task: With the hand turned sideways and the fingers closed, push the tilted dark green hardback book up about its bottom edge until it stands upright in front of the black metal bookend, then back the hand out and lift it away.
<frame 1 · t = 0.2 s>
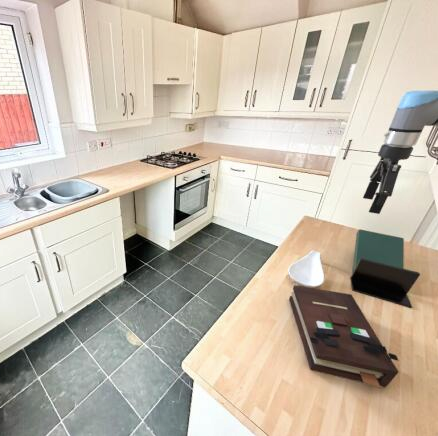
hand: (370, 205, 87), 28 cm above the counter, tool pointing down, fingers open, 13 cm apart
spoon rest: (306, 273, 98), on the counter
decorative book: (328, 336, 73), on the counter
bookend: (378, 292, 88), on the counter
book: (377, 255, 96), point 6 cm above the counter, hinge at 30.0°
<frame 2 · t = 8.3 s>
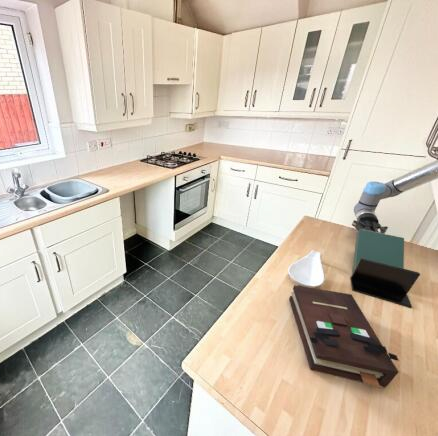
hand: (375, 242, 102), 8 cm above the counter, tool horizontal, fingers closed
book: (378, 255, 96), point 7 cm above the counter, hinge at 30.8°
everything else where it was.
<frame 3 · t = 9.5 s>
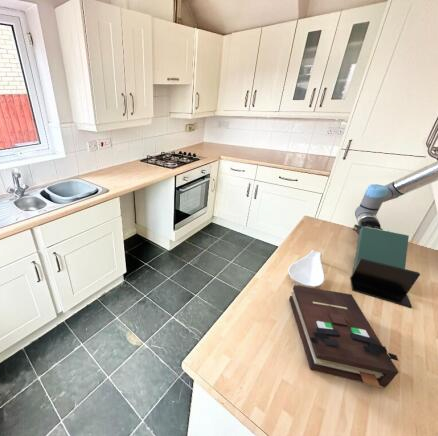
hand: (377, 248, 98), 8 cm above the counter, tool horizontal, fingers closed
book: (380, 254, 95), point 8 cm above the counter, hinge at 40.4°, touching gripper
everything else where it was.
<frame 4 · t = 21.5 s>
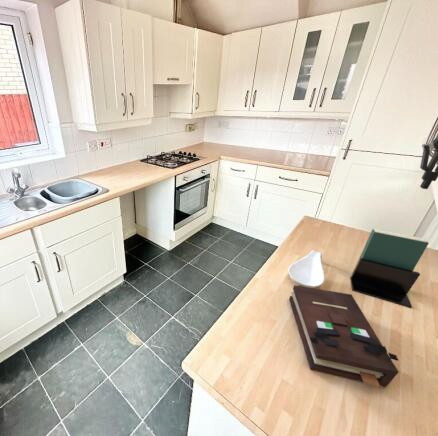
hand: (423, 187, 98), 29 cm above the counter, tool pointing down, fingers closed
book: (387, 259, 88), point 10 cm above the counter, hinge at 84.1°
everything else where it was.
at the end: book at +84° (first picture: +30°); decorative book moved 0.2 cm from its start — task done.
